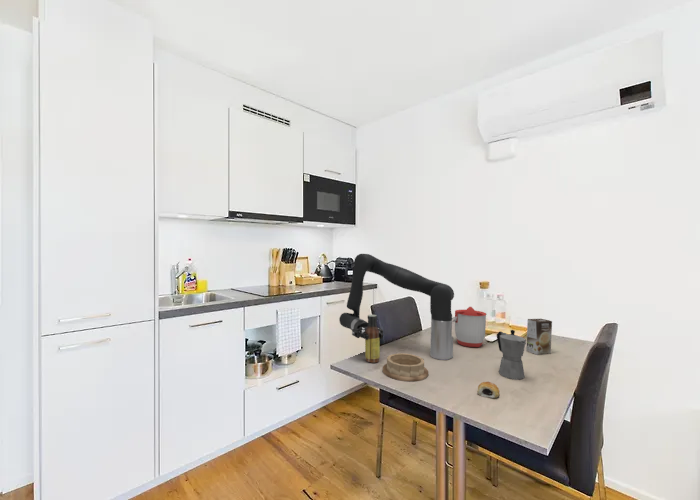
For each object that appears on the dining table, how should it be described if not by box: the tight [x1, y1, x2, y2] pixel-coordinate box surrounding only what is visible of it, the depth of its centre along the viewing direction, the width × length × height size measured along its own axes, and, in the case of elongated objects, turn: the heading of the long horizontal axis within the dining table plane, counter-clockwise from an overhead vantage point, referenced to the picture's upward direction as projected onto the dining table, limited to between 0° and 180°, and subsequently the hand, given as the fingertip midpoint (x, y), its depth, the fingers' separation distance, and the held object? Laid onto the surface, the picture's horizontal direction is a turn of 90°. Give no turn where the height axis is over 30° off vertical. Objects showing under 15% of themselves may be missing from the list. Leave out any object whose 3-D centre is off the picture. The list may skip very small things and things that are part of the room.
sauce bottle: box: [364, 314, 381, 364], centre depth 138 cm, size 6×6×20 cm
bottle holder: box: [382, 352, 429, 382], centre depth 126 cm, size 18×18×5 cm
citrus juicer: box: [452, 306, 487, 348], centre depth 167 cm, size 16×17×20 cm
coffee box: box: [525, 318, 553, 356], centre depth 156 cm, size 9×6×16 cm
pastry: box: [476, 381, 500, 399], centre depth 110 cm, size 9×7×4 cm
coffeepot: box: [496, 329, 527, 381], centre depth 127 cm, size 15×9×18 cm, turn 13°
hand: (374, 337), depth 136 cm, fingers closed on sauce bottle, 6 cm apart
